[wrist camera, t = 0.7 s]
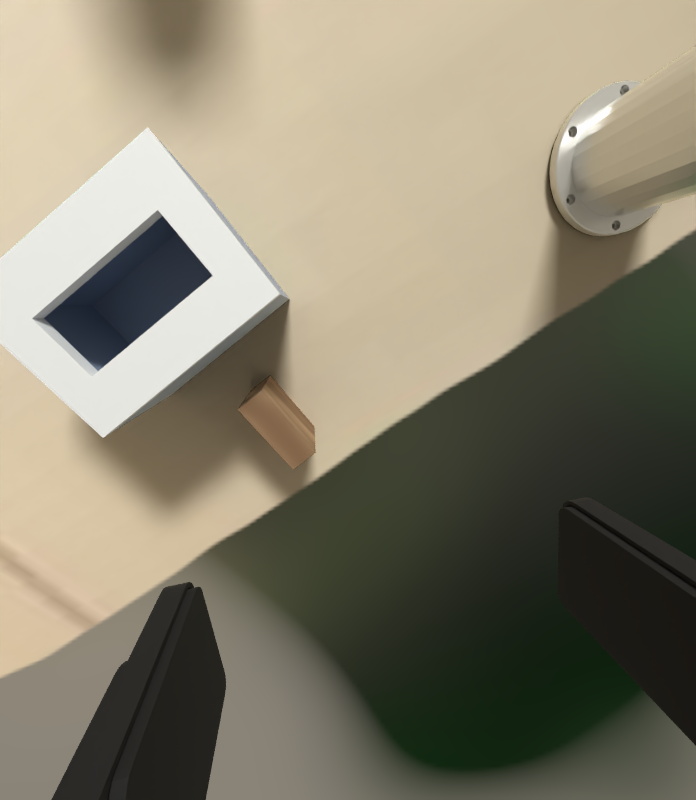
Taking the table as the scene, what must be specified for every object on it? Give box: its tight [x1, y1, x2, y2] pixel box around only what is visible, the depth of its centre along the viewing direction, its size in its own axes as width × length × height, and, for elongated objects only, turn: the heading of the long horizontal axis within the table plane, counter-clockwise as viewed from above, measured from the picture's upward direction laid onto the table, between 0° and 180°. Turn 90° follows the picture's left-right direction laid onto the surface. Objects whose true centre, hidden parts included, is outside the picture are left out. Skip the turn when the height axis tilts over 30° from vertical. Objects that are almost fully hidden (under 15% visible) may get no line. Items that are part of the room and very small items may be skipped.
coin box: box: [0, 127, 289, 438], centre depth 27 cm, size 15×11×12 cm
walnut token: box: [238, 376, 315, 469], centre depth 33 cm, size 2×7×7 cm, turn 38°
